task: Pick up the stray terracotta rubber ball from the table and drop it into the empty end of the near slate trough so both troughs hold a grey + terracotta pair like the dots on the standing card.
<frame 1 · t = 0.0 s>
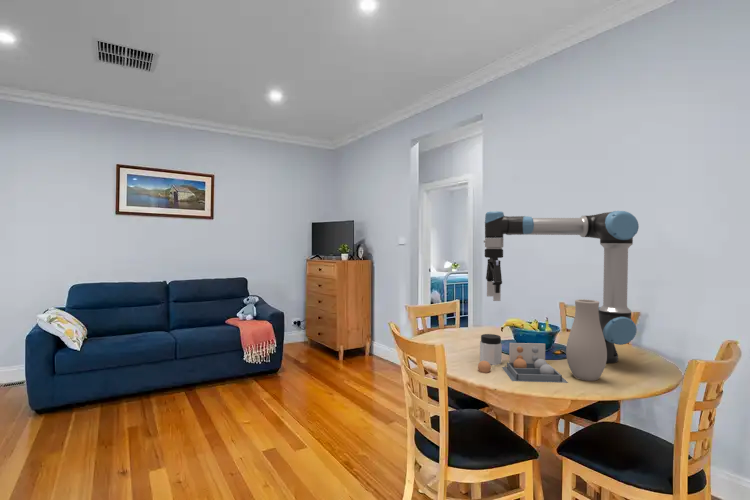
hand: (493, 298, 175), 28 cm above the table, fingers open, 13 cm apart
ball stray: (484, 373, 164), on the table
jar: (490, 364, 176), on the table
vase: (585, 380, 157), on the table
ball b grey: (546, 377, 156), point 1 cm above the table, touching rack
ball a terracotta: (519, 371, 164), point 1 cm above the table, touching rack
ball a grey: (540, 371, 163), point 1 cm above the table, touching rack
rack: (533, 376, 160), on the table
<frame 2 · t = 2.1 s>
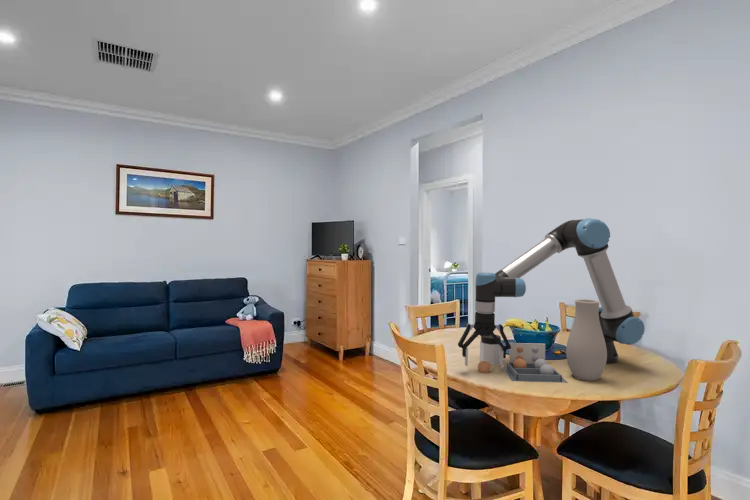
hand: (483, 365, 164), 3 cm above the table, fingers open, 13 cm apart
nothing on the table moved.
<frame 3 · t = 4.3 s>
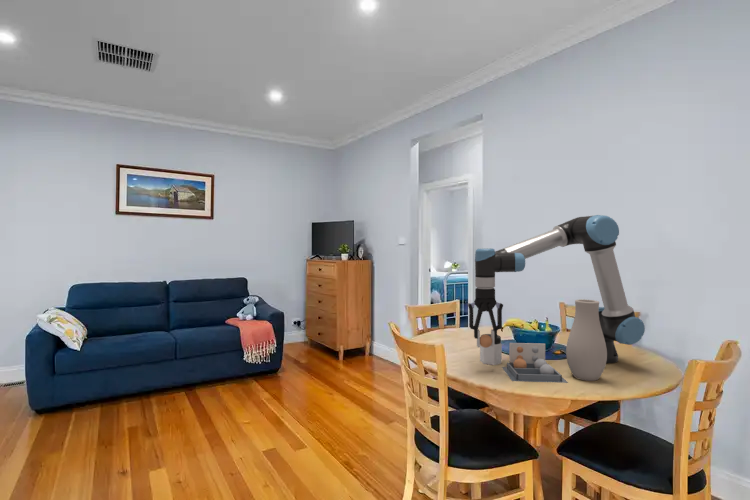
hand: (485, 346, 164), 11 cm above the table, fingers closed on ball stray, 5 cm apart
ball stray: (485, 347, 164), point 10 cm above the table, touching gripper
everything else where it was.
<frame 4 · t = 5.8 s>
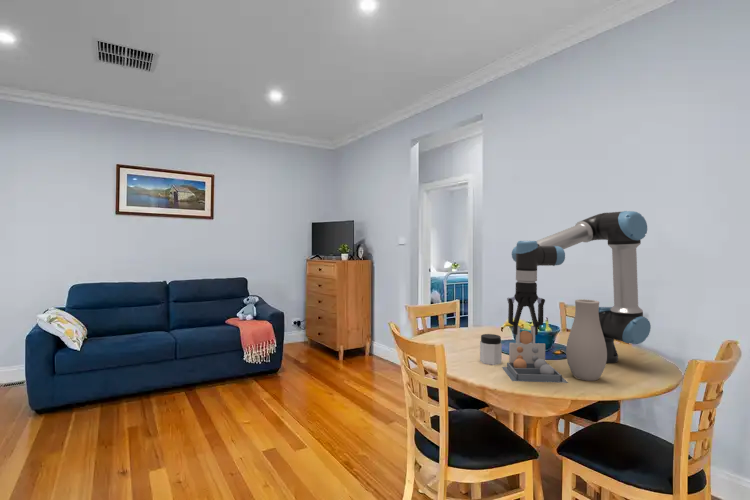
hand: (525, 343, 156), 14 cm above the table, fingers closed on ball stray, 5 cm apart
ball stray: (525, 344, 156), point 14 cm above the table, touching gripper
everything else where it was.
when the fingers open (3 cm above the table, at t = 7.5 s): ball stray drops 2 cm, resting on rack.
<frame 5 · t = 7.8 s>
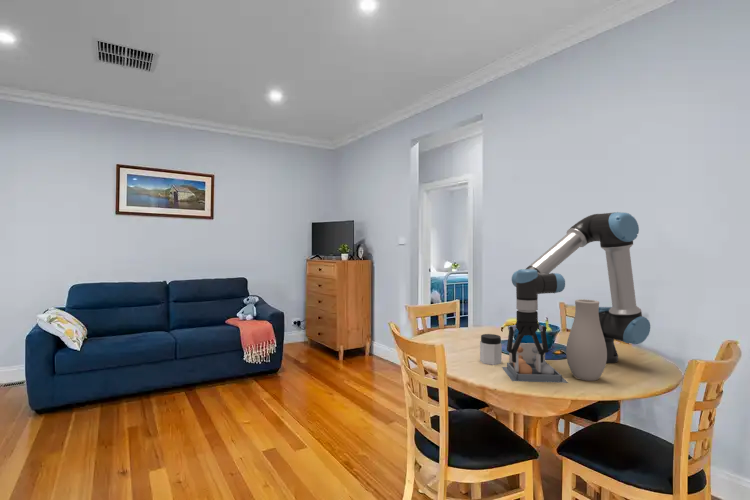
hand: (527, 370, 157), 3 cm above the table, fingers open, 7 cm apart
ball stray: (525, 377, 157), point 1 cm above the table, touching rack
everything else where it was.
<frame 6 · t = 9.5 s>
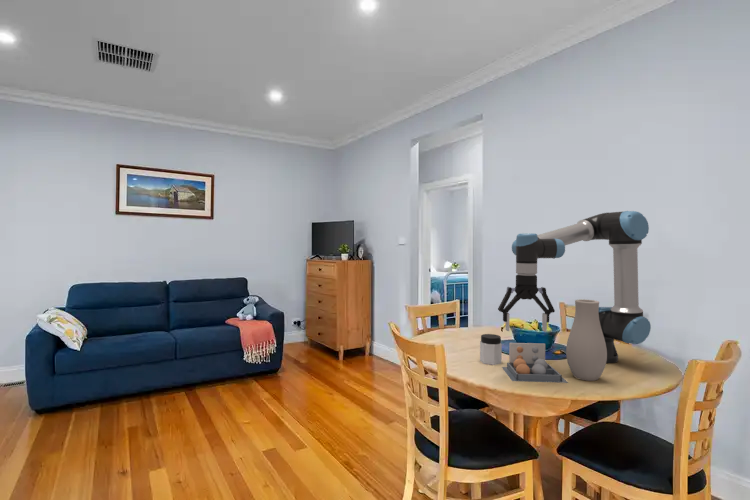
hand: (525, 330, 156), 19 cm above the table, fingers open, 13 cm apart
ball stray: (525, 376, 157), point 1 cm above the table, tilted 18°, touching rack
ball b grey: (544, 373, 156), point 2 cm above the table, tilted 65°, touching rack
everything else where it was.
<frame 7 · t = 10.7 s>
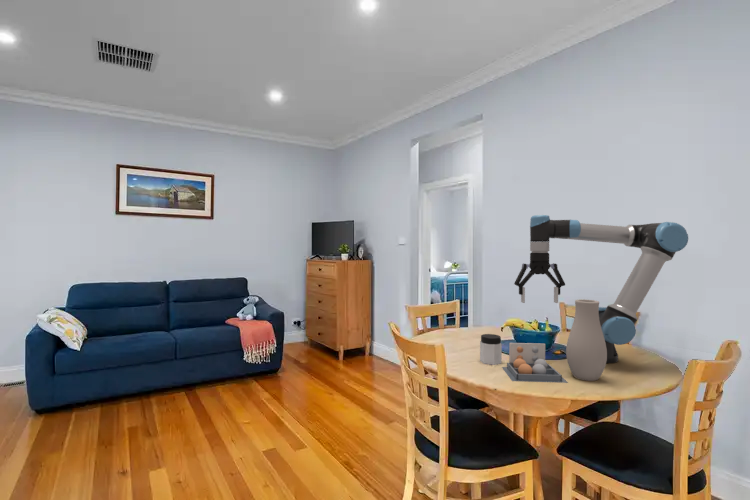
hand: (539, 302, 175), 26 cm above the table, fingers open, 13 cm apart
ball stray: (525, 377, 157), point 1 cm above the table, touching rack
everything else where it was.
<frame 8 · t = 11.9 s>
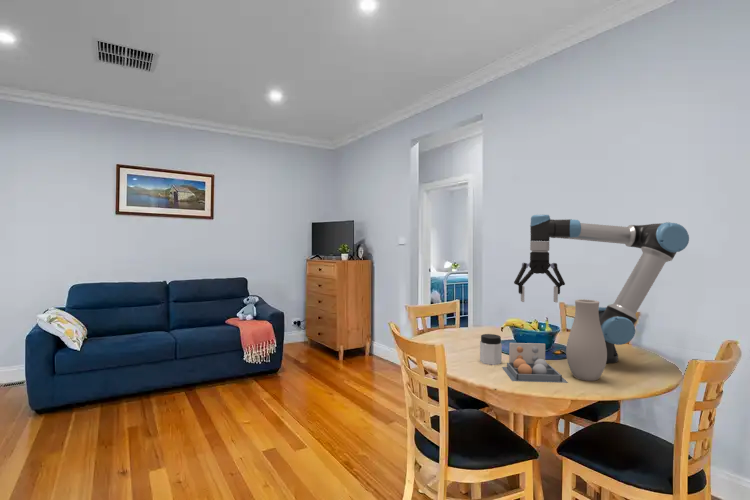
hand: (538, 301, 175), 27 cm above the table, fingers open, 13 cm apart
nothing on the table moved.
at the end: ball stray 0.0 cm from the target spot on the rack, point 1.0 cm above the rack's base; the gripper is holding nothing; ball b grey moved 1.1 cm from its start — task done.
